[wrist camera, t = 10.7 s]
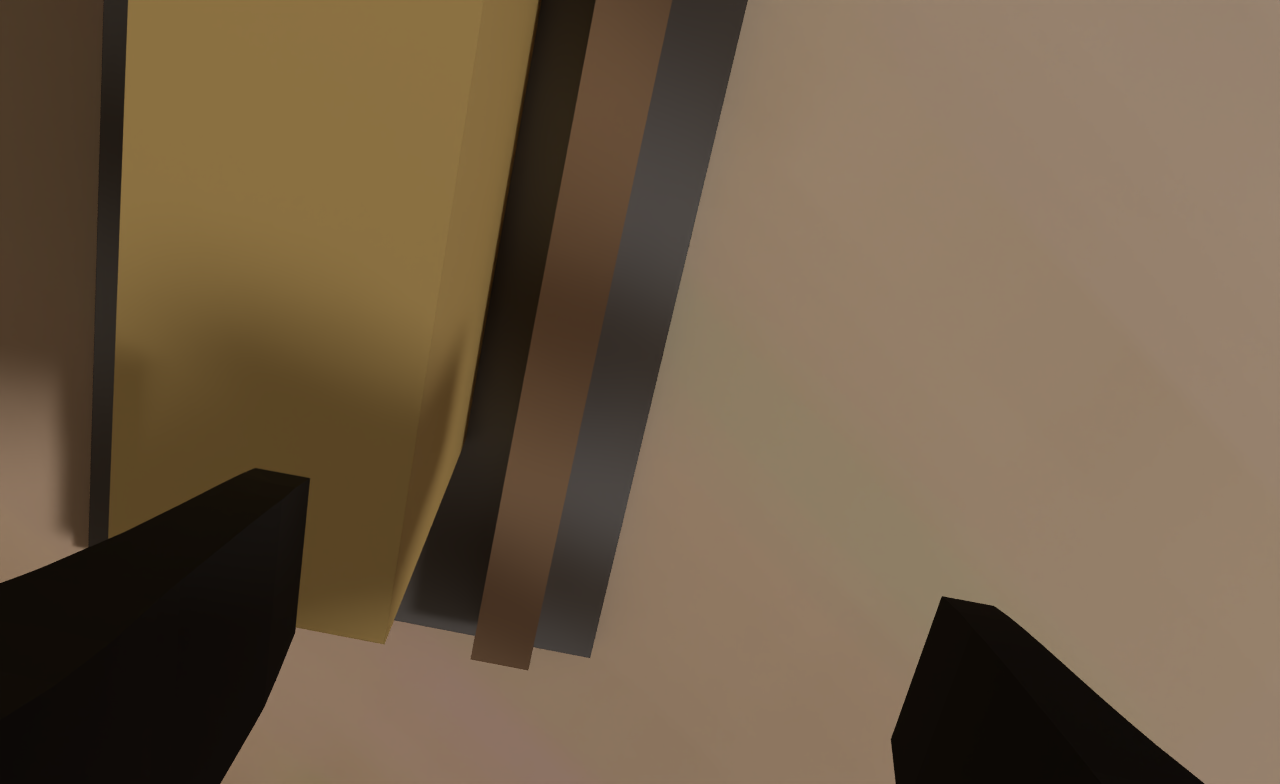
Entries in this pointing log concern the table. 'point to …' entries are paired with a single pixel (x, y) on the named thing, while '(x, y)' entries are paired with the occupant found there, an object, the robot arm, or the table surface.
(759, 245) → the table surface
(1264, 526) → the table surface
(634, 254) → the shelf
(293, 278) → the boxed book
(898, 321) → the table surface
